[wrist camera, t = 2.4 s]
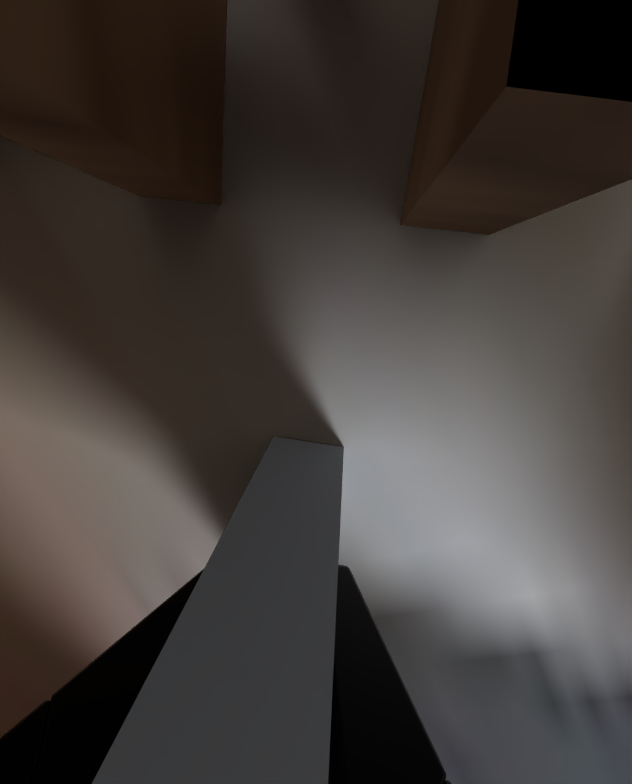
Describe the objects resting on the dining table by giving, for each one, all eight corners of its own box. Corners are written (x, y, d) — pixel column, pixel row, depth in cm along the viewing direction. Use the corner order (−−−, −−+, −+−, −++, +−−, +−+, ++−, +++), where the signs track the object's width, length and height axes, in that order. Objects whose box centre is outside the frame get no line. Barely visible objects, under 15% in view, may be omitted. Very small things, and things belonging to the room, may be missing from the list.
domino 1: (343, 446, 8) (252, 2334, 1) (320, 598, 9) (205, 1761, 2) (273, 436, 8) (-522, 1948, 1) (260, 588, 9) (-64, 1661, 2)
